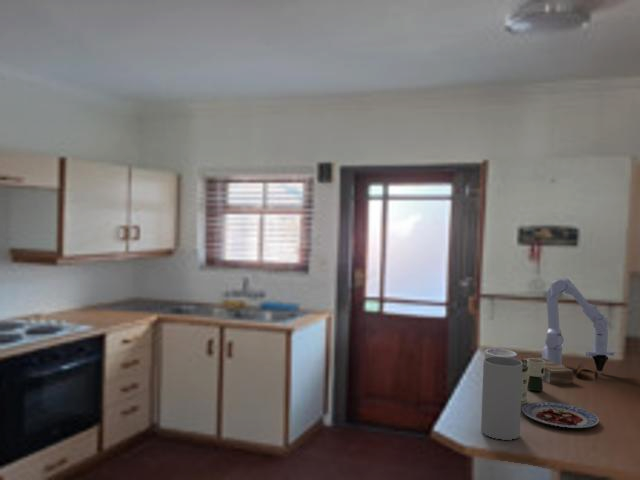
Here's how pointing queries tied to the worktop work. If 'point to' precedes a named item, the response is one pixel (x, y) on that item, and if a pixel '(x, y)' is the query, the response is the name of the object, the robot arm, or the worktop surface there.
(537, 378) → the character mug
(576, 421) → the ceramic plate
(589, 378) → the sunglasses case
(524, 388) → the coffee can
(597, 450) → the worktop surface
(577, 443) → the worktop surface
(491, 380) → the cylinder vase
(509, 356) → the paper bowls
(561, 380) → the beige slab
